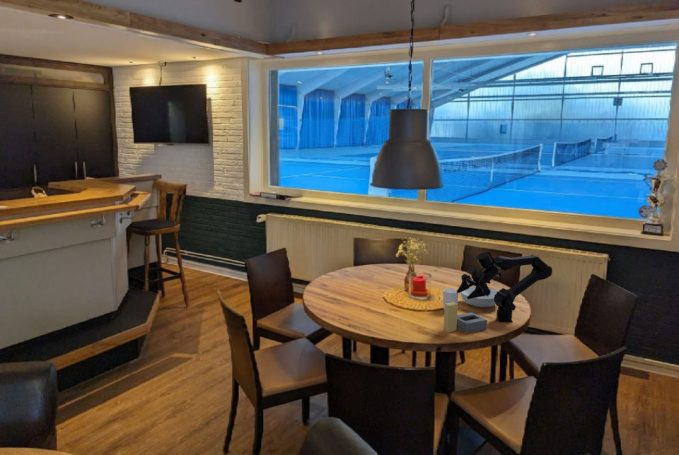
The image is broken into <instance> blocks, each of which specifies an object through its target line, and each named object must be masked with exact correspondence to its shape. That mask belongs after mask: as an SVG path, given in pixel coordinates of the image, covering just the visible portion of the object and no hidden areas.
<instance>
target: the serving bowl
mask: <svg viewBox="0 0 679 455" xmlns="http://www.w3.org/2000/svg"><path fill="white" fill-rule="evenodd" d="M475 288H476V286H472V287H470V288H469V289H467V290H465V291H462V292H460V296H461V299H462V300H463V302H465V304H467V305H470V306H473V307H475V308H476V307H477V308H488V307H489V308H490V307H493V306H496V303H495V301H494V297H495V294H496V293H497V292H498V291H499V290H496V289H493V288H490V287H489V289H490V291H491V293H490V295H489V296H482V297H476V298H472V299H467V297H468V296H469V295H470V294H471V293H472V292H473V291H474V290H475Z"/></svg>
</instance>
